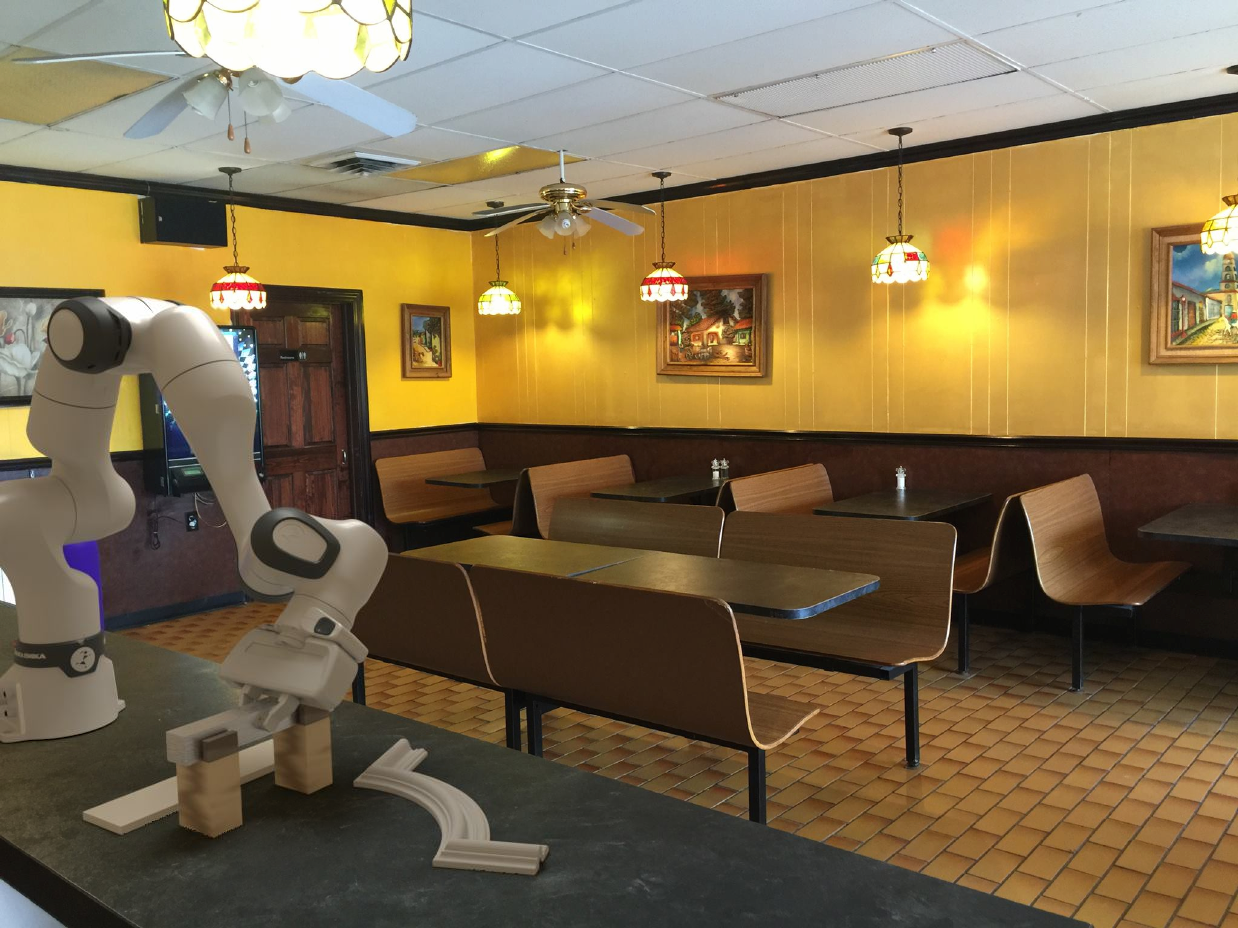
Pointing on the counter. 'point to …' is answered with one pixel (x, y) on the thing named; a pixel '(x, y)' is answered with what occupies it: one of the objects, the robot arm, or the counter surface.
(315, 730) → the post far
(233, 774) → the post near
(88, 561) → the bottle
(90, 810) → the plank
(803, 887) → the counter surface
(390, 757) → the molding
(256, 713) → the rail
